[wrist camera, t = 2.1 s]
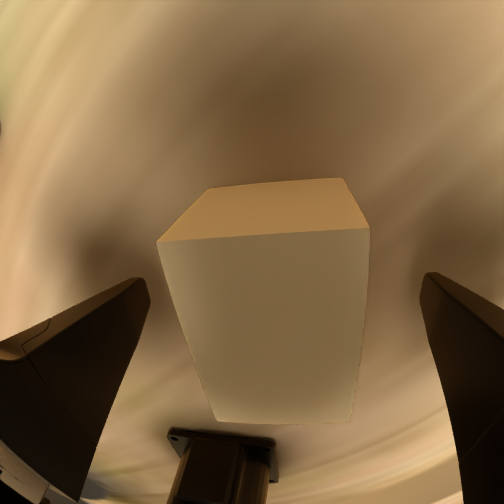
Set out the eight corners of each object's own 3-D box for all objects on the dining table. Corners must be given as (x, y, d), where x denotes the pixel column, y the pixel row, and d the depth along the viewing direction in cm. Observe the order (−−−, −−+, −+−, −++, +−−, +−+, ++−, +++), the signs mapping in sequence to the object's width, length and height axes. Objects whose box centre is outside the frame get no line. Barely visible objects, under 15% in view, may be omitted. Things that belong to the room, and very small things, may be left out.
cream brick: (341, 334, 11) (350, 422, 8) (238, 337, 12) (216, 421, 8) (341, 176, 9) (370, 227, 5) (208, 187, 9) (155, 242, 6)
